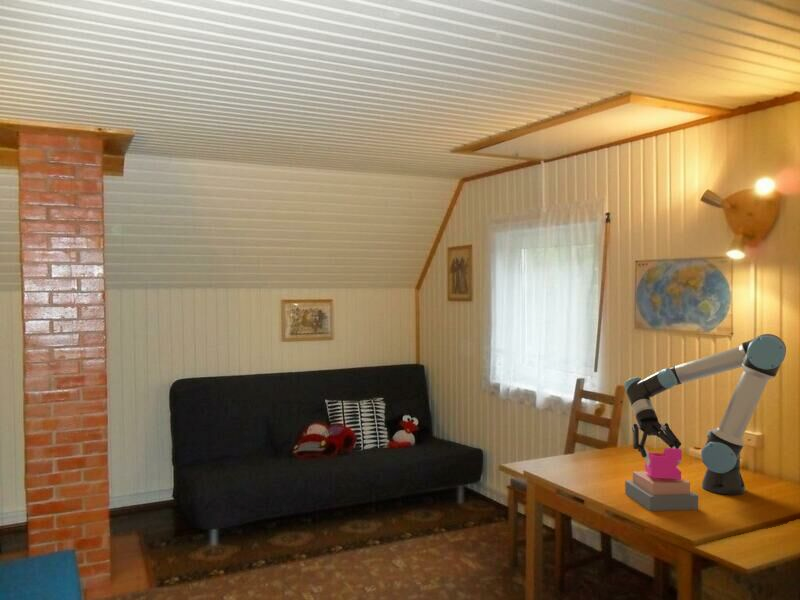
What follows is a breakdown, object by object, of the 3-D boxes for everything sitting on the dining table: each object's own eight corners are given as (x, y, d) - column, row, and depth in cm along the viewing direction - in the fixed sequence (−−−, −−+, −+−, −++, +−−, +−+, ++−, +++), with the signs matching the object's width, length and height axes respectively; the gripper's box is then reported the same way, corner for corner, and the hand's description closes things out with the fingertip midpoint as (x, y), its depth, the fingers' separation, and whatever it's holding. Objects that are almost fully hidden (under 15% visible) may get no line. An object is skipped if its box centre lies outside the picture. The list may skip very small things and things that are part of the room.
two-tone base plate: (669, 492, 257) (670, 469, 257) (698, 509, 237) (698, 484, 237) (625, 493, 255) (625, 470, 255) (649, 510, 235) (650, 485, 235)
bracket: (681, 479, 238) (681, 450, 238) (651, 477, 240) (651, 449, 240) (673, 470, 250) (673, 442, 250) (644, 468, 252) (644, 441, 252)
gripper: (669, 418, 262) (690, 468, 247) (613, 419, 260) (631, 470, 245) (676, 407, 257) (698, 458, 241) (619, 408, 255) (637, 459, 239)
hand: (664, 464), depth 243 cm, fingers closed on bracket, 10 cm apart
